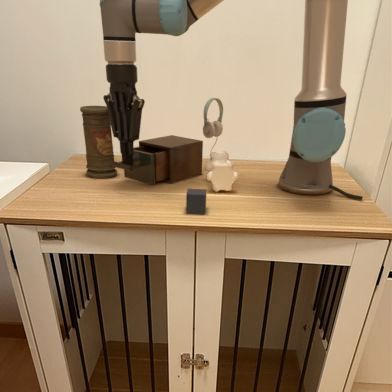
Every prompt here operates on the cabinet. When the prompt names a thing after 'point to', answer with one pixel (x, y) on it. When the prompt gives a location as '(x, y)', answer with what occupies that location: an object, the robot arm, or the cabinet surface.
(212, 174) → the white rounded figure
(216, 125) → the headphones
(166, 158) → the drawer
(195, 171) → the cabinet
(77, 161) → the cabinet surface
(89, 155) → the container
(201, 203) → the block
